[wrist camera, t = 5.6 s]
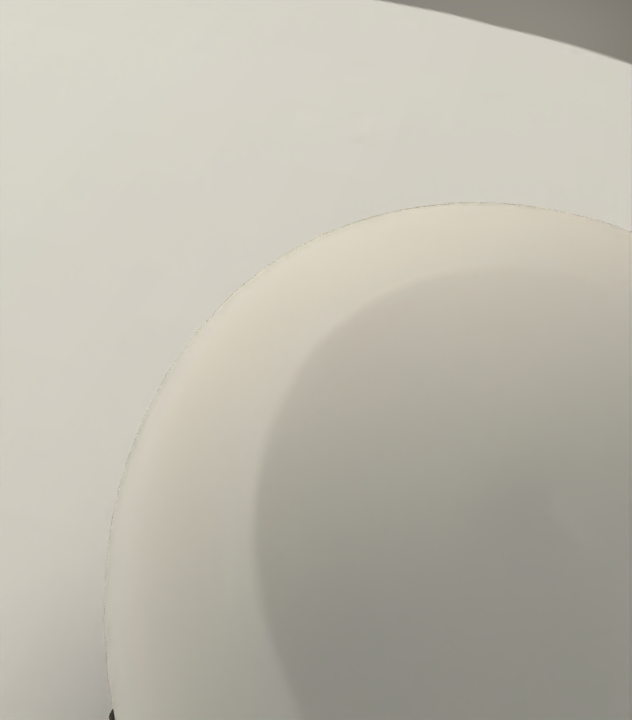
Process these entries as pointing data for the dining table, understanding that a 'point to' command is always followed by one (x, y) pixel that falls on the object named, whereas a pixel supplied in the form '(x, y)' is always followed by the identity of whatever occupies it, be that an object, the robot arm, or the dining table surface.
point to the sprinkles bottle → (390, 484)
